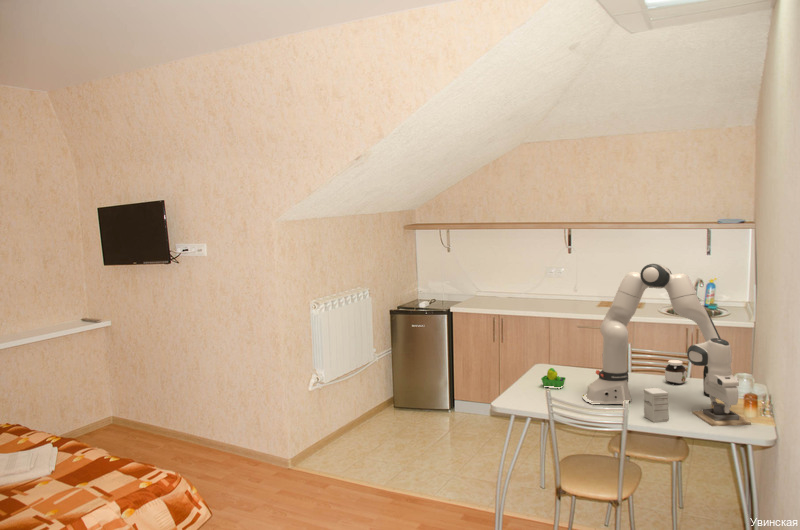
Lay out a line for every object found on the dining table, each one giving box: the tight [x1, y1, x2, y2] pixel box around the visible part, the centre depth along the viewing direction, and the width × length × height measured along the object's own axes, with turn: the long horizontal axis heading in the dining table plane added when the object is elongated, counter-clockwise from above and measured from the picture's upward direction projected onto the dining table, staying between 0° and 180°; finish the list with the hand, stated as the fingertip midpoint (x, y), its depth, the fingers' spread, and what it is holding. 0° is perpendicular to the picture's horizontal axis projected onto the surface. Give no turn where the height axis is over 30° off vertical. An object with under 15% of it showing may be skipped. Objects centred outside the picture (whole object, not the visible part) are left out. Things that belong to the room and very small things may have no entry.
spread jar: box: [664, 359, 687, 386], centre depth 295 cm, size 12×11×12 cm
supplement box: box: [643, 387, 669, 423], centre depth 241 cm, size 7×7×13 cm
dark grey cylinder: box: [712, 402, 728, 416], centre depth 238 cm, size 5×5×5 cm
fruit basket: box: [540, 367, 566, 387], centre depth 295 cm, size 11×9×11 cm
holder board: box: [692, 407, 752, 427], centre depth 238 cm, size 16×16×3 cm
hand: (720, 408), depth 238 cm, fingers open, 8 cm apart
